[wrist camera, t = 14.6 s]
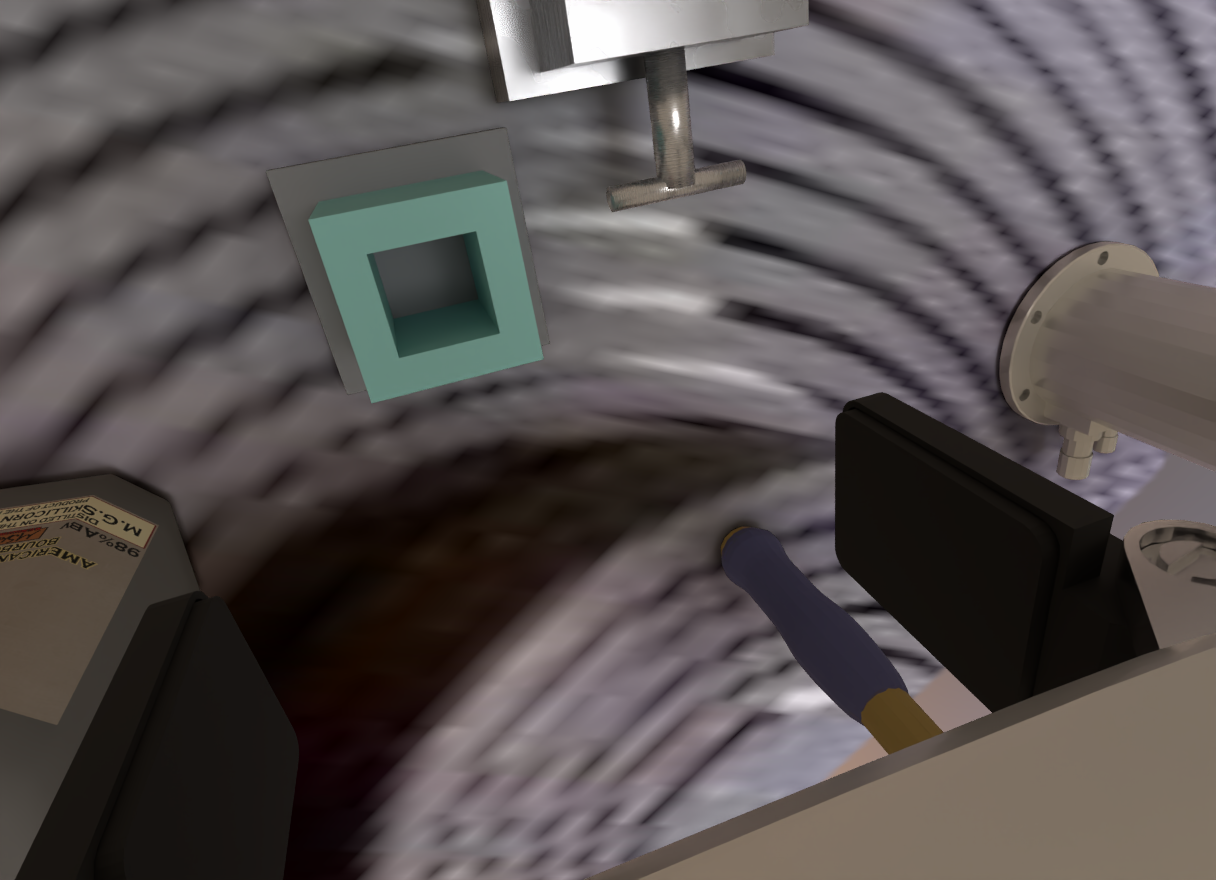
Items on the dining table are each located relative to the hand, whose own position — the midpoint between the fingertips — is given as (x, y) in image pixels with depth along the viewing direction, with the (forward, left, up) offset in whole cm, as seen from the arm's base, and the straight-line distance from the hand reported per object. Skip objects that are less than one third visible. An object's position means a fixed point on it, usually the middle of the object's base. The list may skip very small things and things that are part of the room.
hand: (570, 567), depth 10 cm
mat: (0, 0, -25) cm, 25 cm away
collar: (0, 0, -24) cm, 24 cm away
